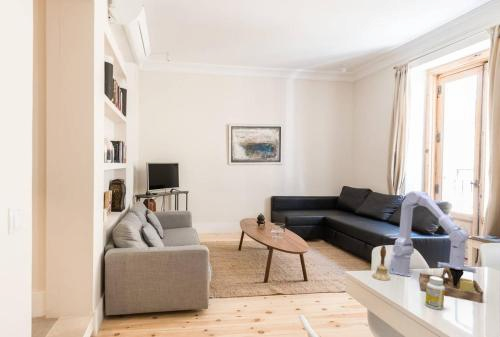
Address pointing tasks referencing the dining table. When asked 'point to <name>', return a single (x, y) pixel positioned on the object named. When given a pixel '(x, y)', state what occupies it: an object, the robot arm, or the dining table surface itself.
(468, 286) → the ochre block
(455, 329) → the dining table surface
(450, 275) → the lion figurine
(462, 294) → the walnut lane
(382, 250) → the hand bell
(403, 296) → the dining table surface
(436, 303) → the supplement bottle
